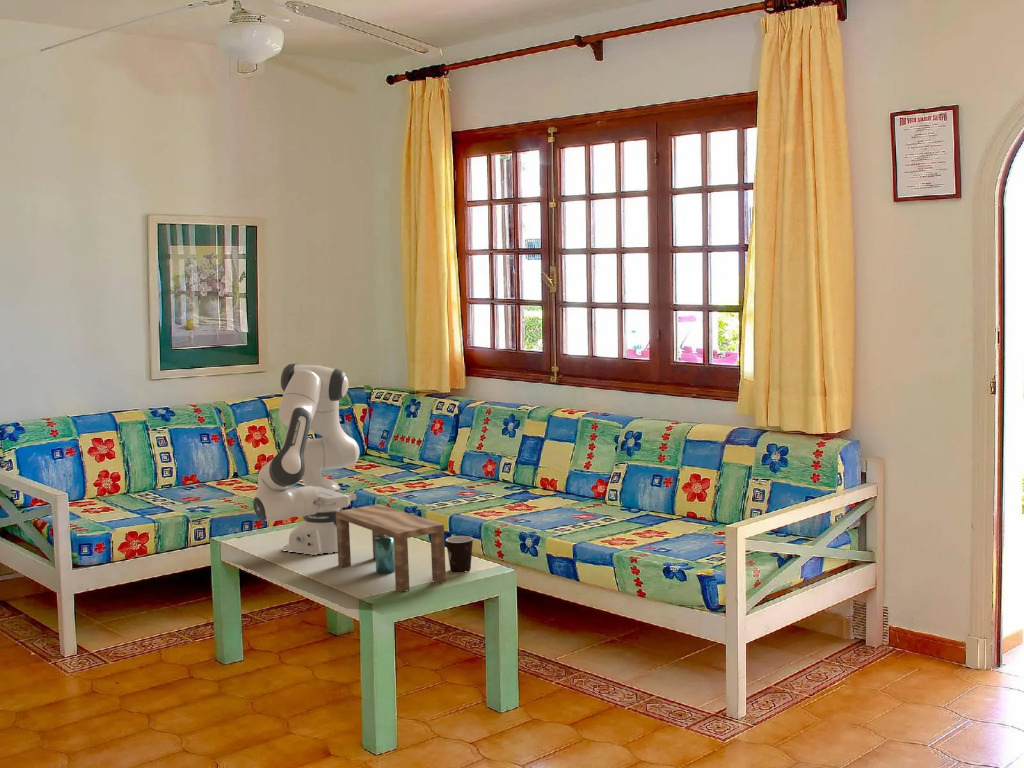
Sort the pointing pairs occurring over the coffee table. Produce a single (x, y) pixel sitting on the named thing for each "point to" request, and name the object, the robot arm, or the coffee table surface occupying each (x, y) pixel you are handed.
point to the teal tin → (384, 554)
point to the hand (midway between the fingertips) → (348, 494)
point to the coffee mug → (459, 553)
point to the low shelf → (398, 528)
